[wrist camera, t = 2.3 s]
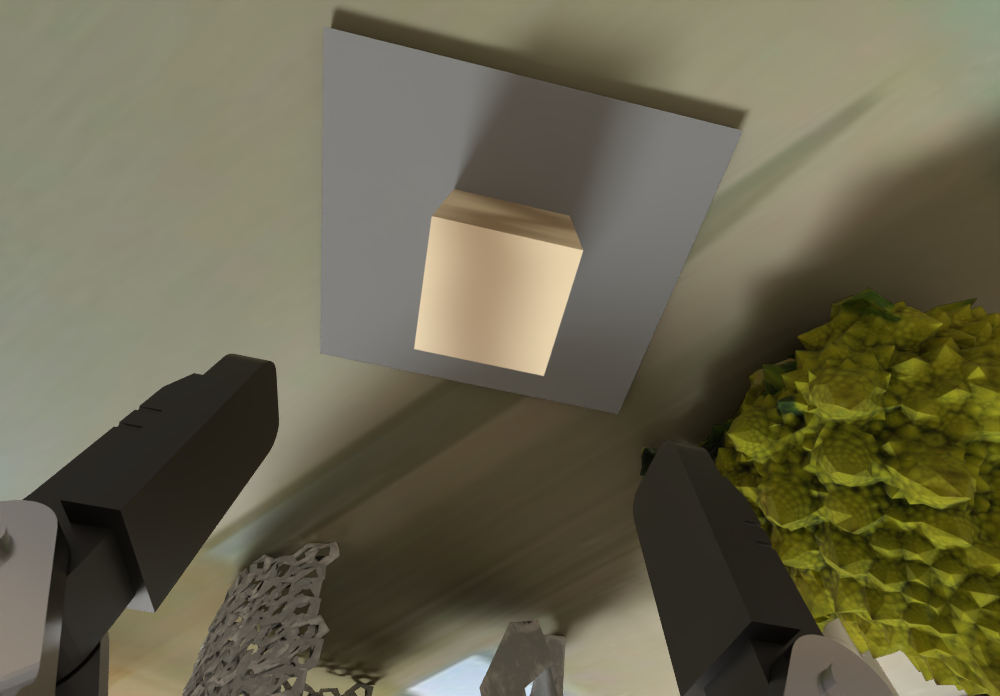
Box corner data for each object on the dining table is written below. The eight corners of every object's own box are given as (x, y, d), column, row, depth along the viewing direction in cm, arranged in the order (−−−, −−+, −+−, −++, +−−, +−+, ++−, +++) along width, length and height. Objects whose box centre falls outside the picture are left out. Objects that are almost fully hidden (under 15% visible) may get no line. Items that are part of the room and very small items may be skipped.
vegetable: (592, 542, 24) (945, 856, 10) (666, 271, 25) (1092, 191, 11) (782, 574, 29) (1207, 817, 14) (839, 345, 29) (1294, 360, 15)
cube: (569, 215, 19) (583, 250, 14) (539, 319, 21) (543, 376, 17) (454, 188, 18) (431, 216, 14) (437, 297, 21) (413, 349, 16)
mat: (736, 129, 17) (742, 130, 17) (616, 407, 24) (618, 414, 24) (330, 28, 16) (323, 26, 16) (325, 347, 23) (320, 353, 23)
